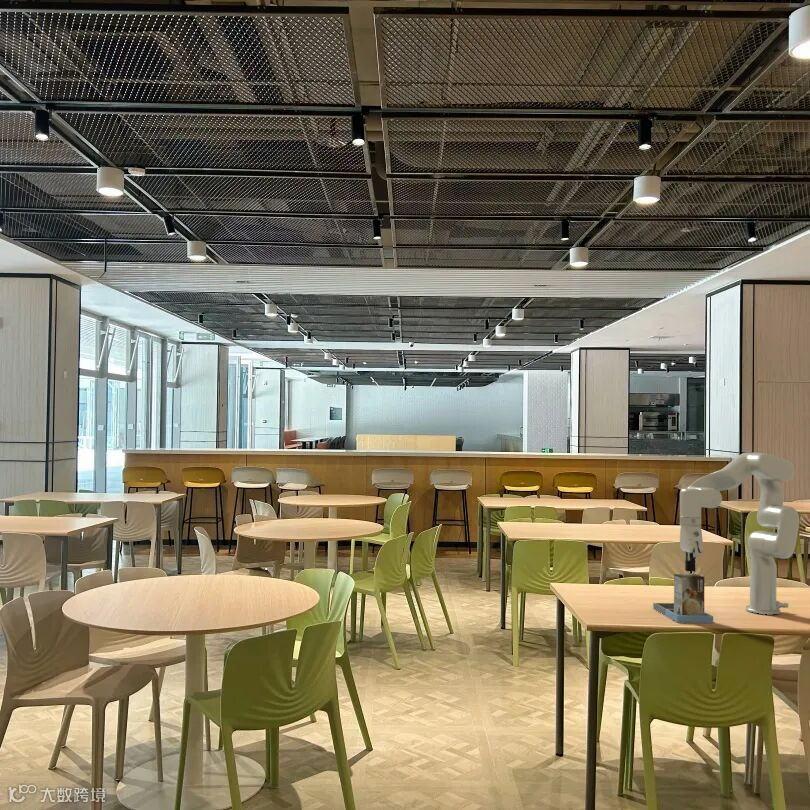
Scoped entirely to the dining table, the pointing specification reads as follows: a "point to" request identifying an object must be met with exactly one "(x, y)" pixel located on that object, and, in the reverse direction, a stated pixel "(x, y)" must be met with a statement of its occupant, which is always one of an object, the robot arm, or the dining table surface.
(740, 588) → the dining table surface
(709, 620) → the bay tray
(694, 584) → the coffee box
